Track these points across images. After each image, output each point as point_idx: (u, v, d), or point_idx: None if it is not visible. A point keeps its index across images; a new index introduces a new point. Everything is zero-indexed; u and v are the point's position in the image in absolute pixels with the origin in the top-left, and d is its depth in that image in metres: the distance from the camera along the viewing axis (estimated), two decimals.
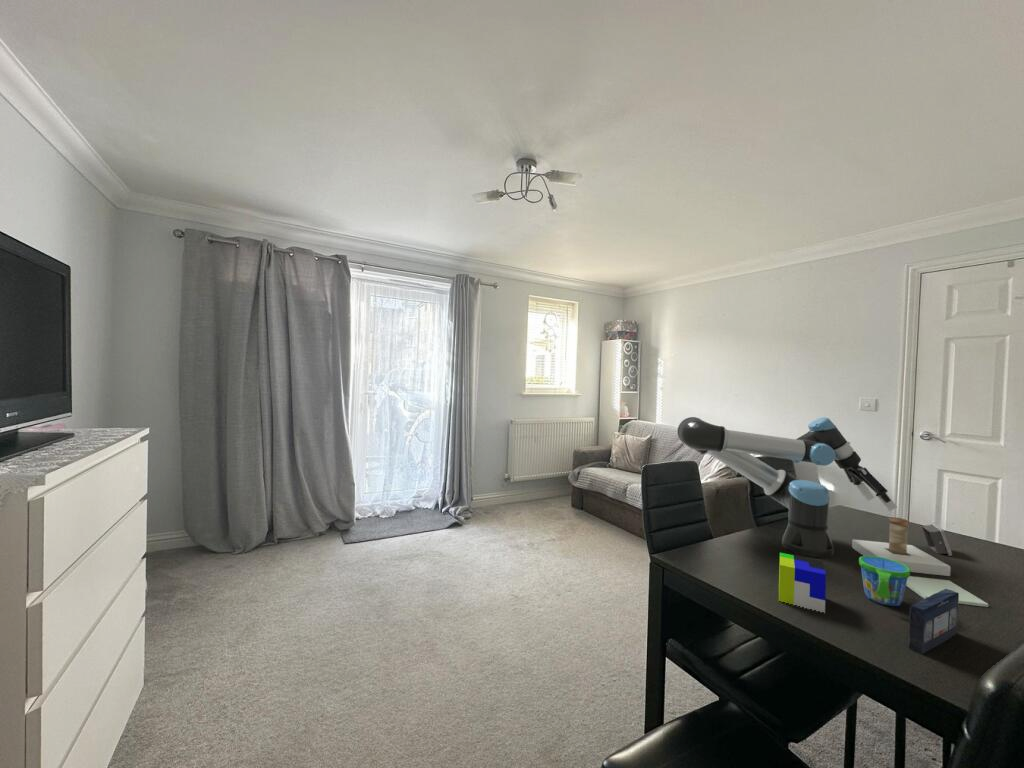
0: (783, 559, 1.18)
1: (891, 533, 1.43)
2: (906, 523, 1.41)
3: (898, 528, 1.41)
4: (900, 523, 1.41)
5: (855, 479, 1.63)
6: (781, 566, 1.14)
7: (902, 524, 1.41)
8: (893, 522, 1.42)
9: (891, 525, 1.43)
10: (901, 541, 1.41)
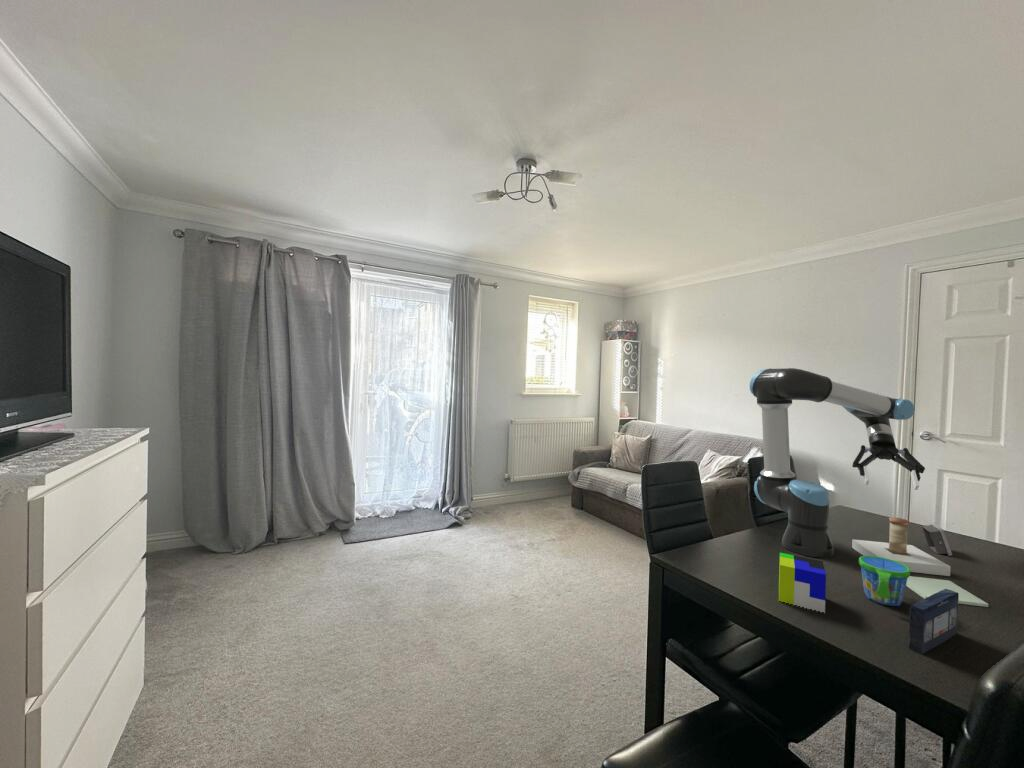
0: (783, 559, 1.18)
1: (891, 533, 1.43)
2: (906, 523, 1.41)
3: (898, 528, 1.41)
4: (900, 523, 1.41)
5: (870, 460, 1.60)
6: (781, 566, 1.14)
7: (902, 524, 1.41)
8: (893, 522, 1.42)
9: (891, 525, 1.43)
10: (901, 541, 1.41)
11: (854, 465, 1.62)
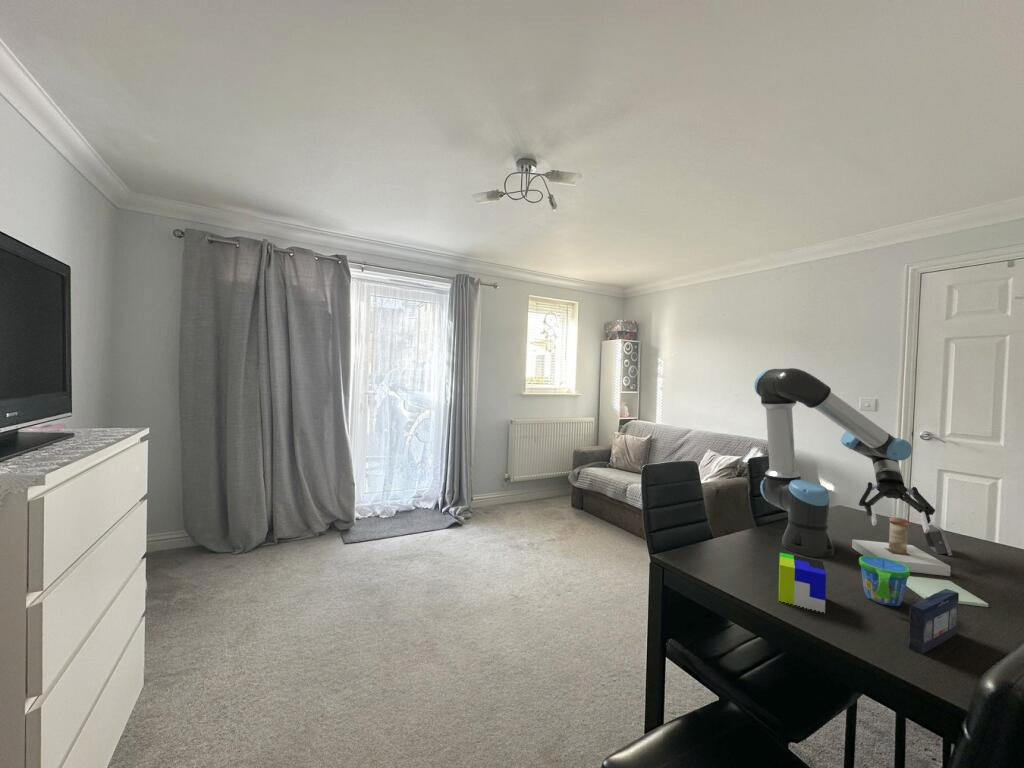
0: (783, 559, 1.18)
1: (891, 533, 1.43)
2: (906, 523, 1.41)
3: (898, 528, 1.41)
4: (900, 523, 1.41)
5: (877, 499, 1.53)
6: (781, 566, 1.14)
7: (902, 524, 1.41)
8: (893, 522, 1.42)
9: (891, 525, 1.43)
10: (901, 541, 1.41)
11: (861, 504, 1.55)
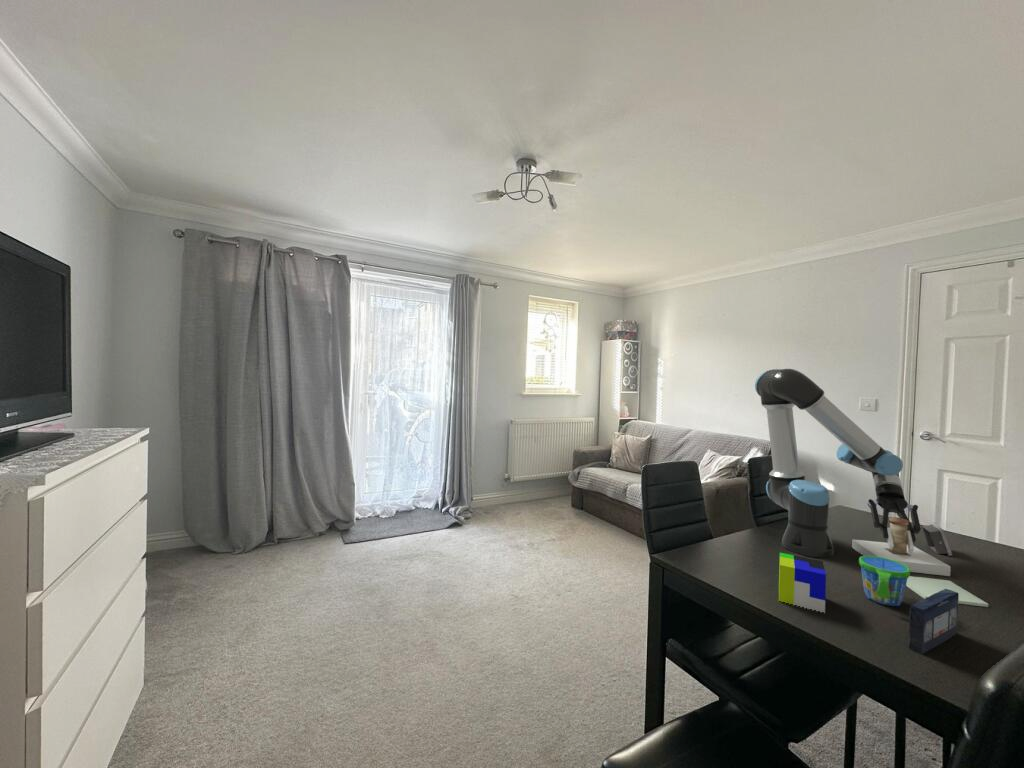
0: (783, 559, 1.18)
1: (891, 533, 1.43)
2: (906, 523, 1.41)
3: (898, 528, 1.41)
4: (900, 523, 1.41)
5: (887, 517, 1.47)
6: (781, 566, 1.14)
7: (902, 524, 1.41)
8: (893, 522, 1.42)
9: (891, 525, 1.43)
10: (901, 541, 1.41)
11: (876, 525, 1.47)
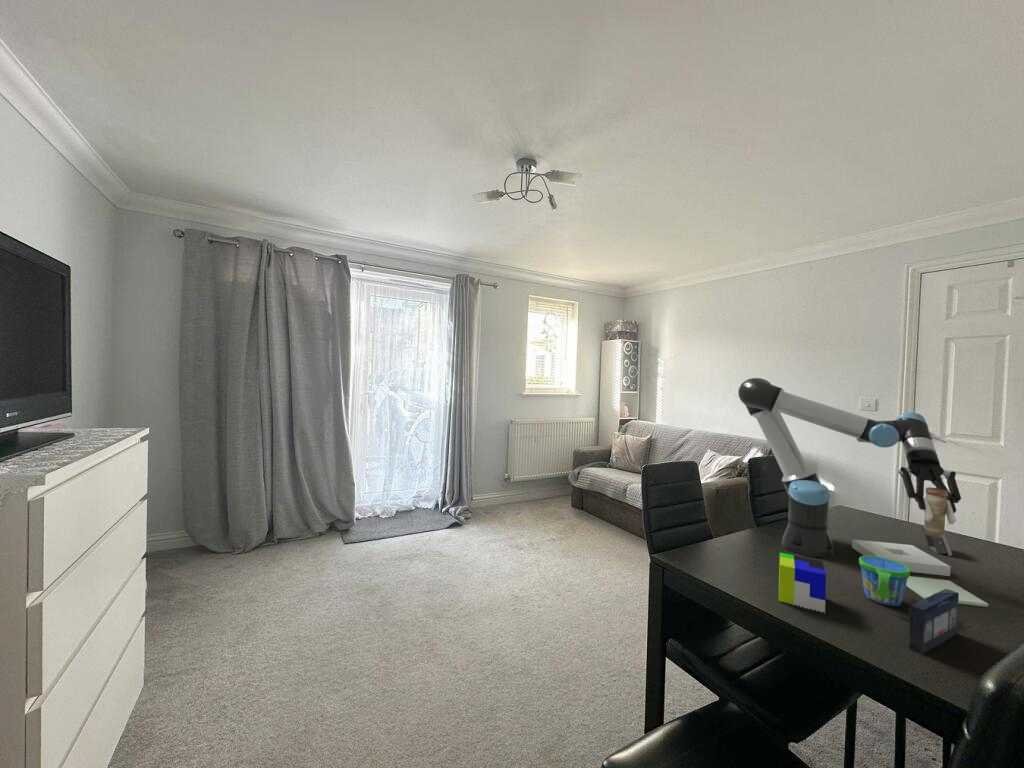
0: (783, 559, 1.18)
1: None
2: (946, 494, 1.27)
3: (937, 499, 1.28)
4: (939, 494, 1.28)
5: None
6: (781, 566, 1.14)
7: (941, 495, 1.27)
8: (931, 493, 1.29)
9: (928, 496, 1.30)
10: (939, 513, 1.28)
11: (911, 496, 1.33)
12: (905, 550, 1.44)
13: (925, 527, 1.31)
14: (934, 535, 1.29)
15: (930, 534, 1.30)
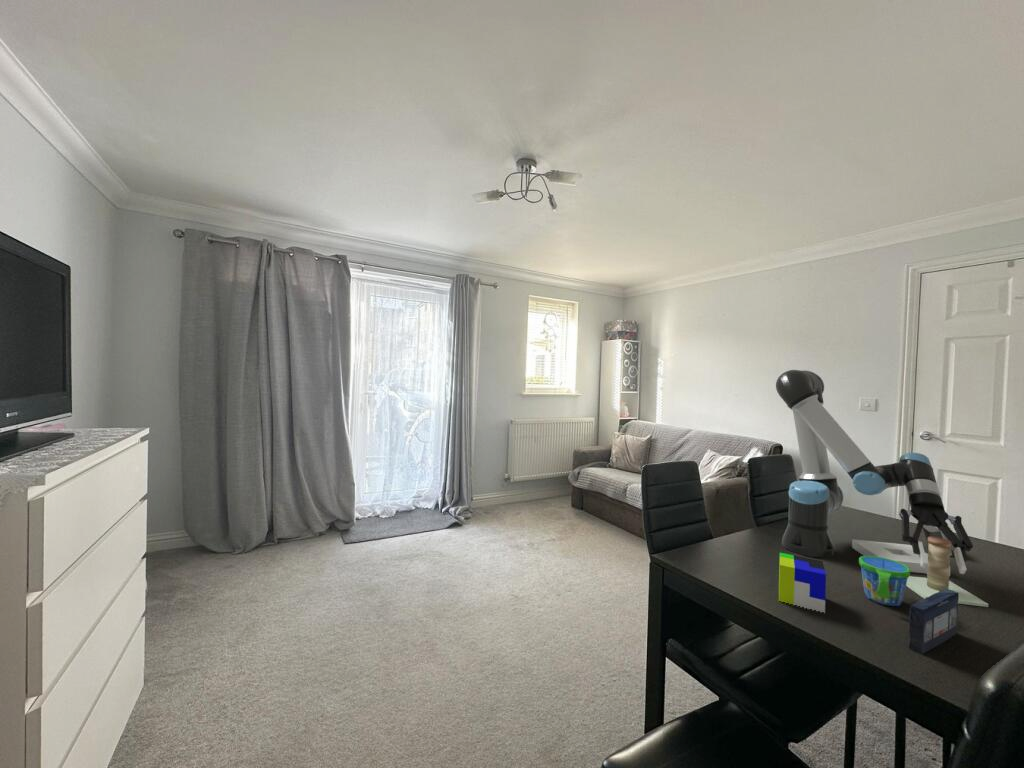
0: (783, 559, 1.18)
1: (930, 556, 1.22)
2: (949, 545, 1.20)
3: (939, 550, 1.21)
4: (941, 545, 1.20)
5: None
6: (781, 566, 1.14)
7: (944, 546, 1.20)
8: (933, 543, 1.22)
9: (930, 546, 1.22)
10: (942, 565, 1.20)
11: (905, 539, 1.27)
12: (905, 550, 1.44)
13: (928, 579, 1.23)
14: (937, 589, 1.21)
15: (933, 587, 1.22)
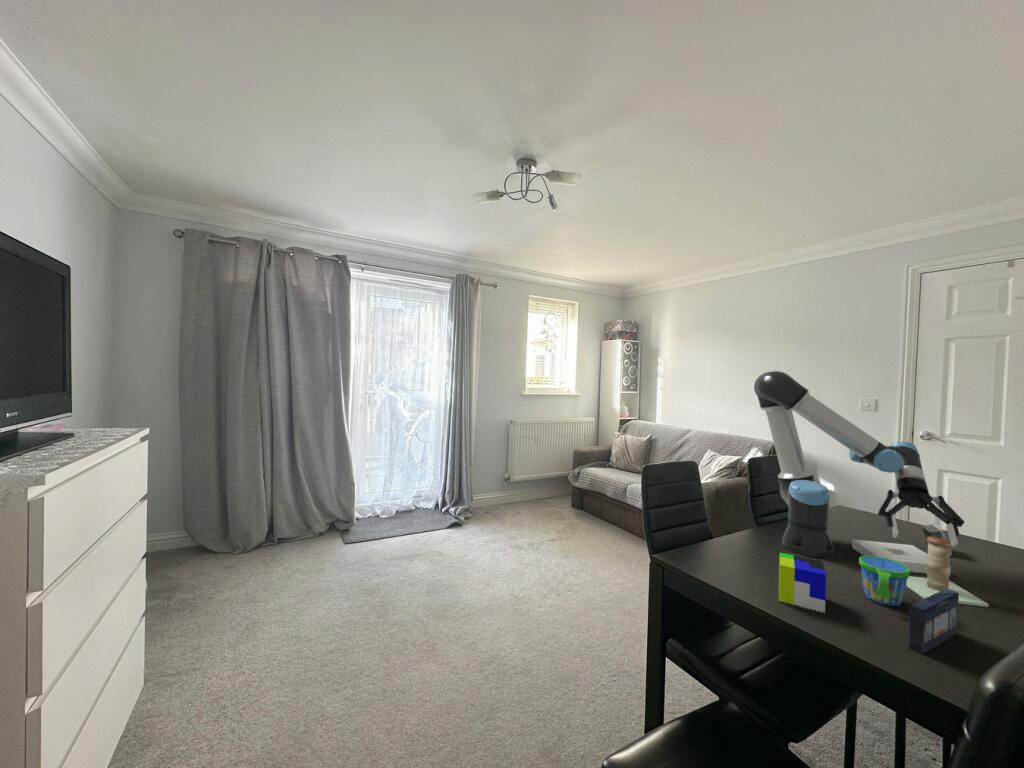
0: (783, 559, 1.18)
1: (930, 555, 1.23)
2: (948, 544, 1.20)
3: (939, 550, 1.21)
4: (941, 544, 1.20)
5: (898, 509, 1.40)
6: (781, 566, 1.14)
7: (943, 545, 1.20)
8: (932, 543, 1.22)
9: (930, 546, 1.23)
10: (942, 565, 1.20)
11: (880, 513, 1.41)
12: (905, 550, 1.44)
13: (928, 579, 1.23)
14: (937, 589, 1.21)
15: (933, 587, 1.22)
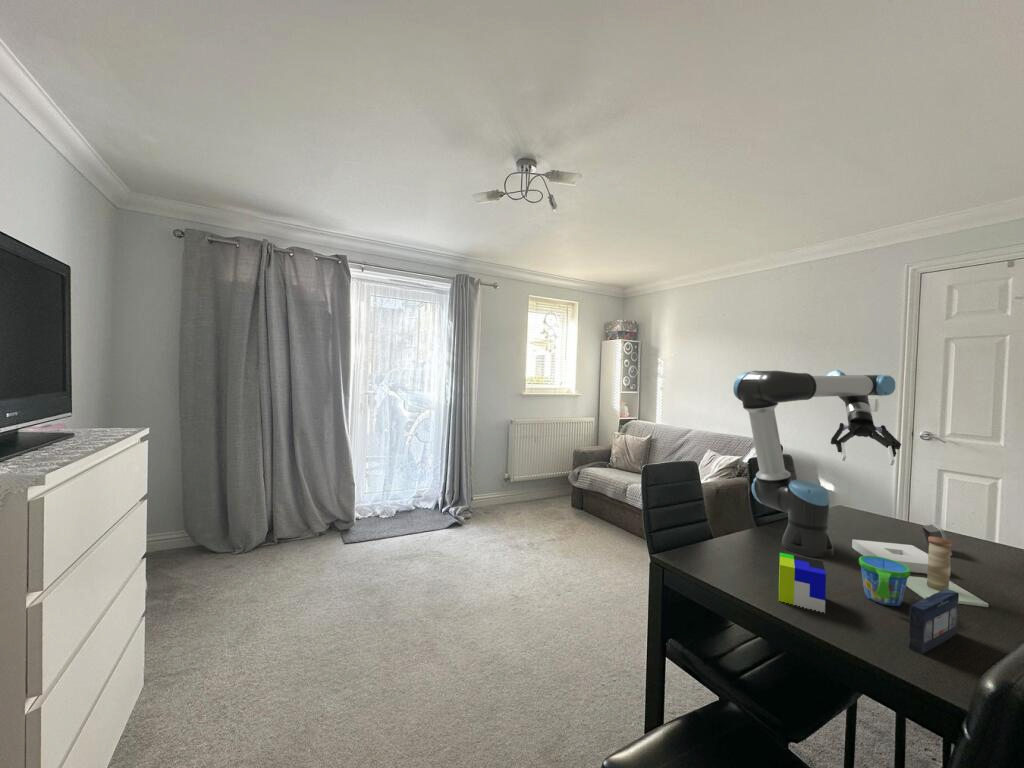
0: (783, 559, 1.18)
1: (931, 555, 1.23)
2: (949, 544, 1.20)
3: (940, 550, 1.21)
4: (942, 544, 1.20)
5: (847, 437, 1.61)
6: (781, 566, 1.14)
7: (945, 545, 1.20)
8: (933, 543, 1.22)
9: (931, 546, 1.23)
10: (943, 565, 1.20)
11: (832, 442, 1.63)
12: (905, 550, 1.44)
13: (928, 579, 1.23)
14: (937, 588, 1.21)
15: (933, 587, 1.22)
